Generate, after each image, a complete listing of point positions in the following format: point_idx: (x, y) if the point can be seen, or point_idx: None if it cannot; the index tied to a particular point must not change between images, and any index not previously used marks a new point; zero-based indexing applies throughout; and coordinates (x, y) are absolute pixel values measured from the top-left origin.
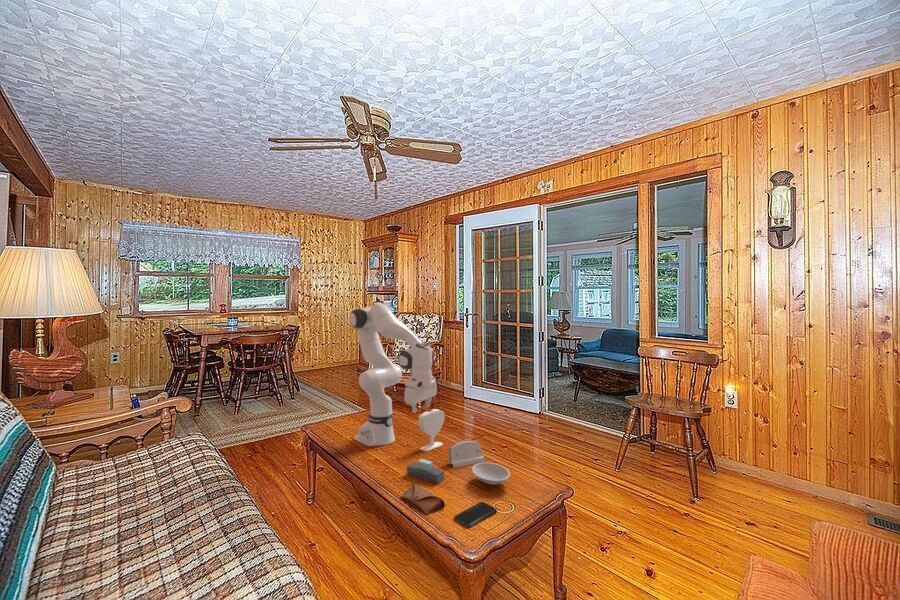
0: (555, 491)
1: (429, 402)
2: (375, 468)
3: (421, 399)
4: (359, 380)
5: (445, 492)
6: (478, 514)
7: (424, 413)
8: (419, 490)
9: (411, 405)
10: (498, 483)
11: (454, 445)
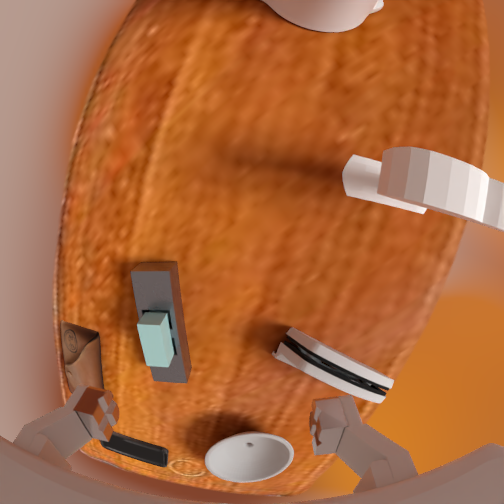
0: (282, 492)
1: (346, 459)
2: (112, 140)
3: None
4: None
5: (145, 393)
6: (134, 452)
7: (454, 175)
8: (77, 374)
9: (32, 432)
10: (228, 466)
11: (319, 372)
